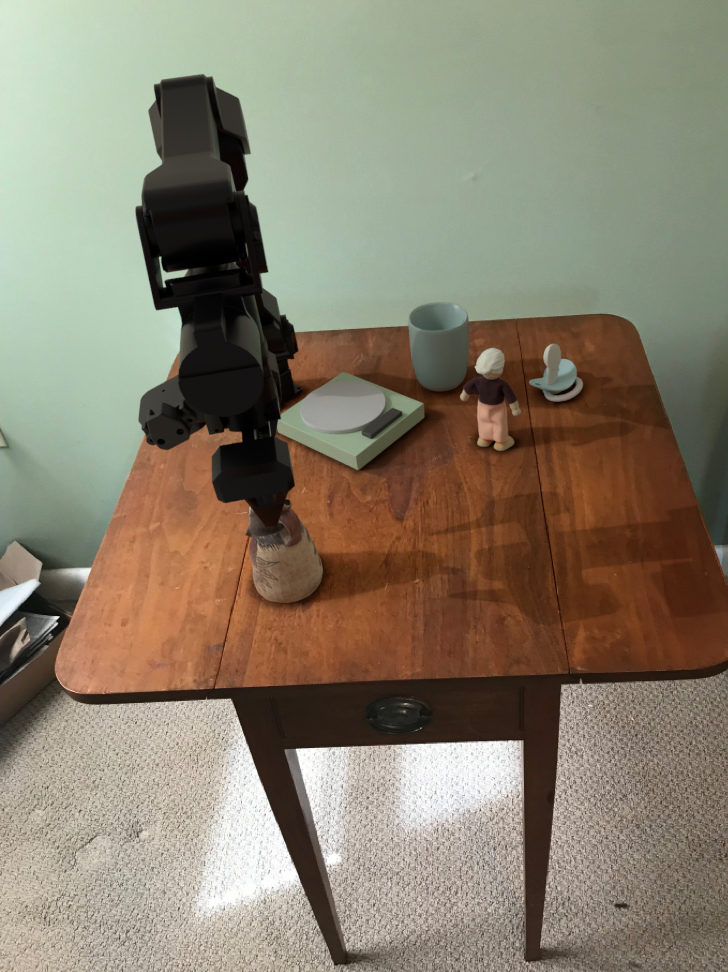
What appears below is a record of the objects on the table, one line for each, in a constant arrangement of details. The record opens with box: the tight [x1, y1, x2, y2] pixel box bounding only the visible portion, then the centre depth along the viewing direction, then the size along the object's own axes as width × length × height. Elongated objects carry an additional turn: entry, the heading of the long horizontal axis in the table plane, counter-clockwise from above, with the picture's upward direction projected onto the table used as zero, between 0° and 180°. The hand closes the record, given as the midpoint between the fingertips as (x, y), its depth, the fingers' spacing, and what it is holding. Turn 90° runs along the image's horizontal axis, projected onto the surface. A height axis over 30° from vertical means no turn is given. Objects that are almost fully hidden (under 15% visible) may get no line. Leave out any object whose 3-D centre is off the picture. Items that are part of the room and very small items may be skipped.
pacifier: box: [528, 343, 584, 403], centre depth 99 cm, size 7×6×6 cm
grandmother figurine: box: [459, 347, 522, 452], centre depth 90 cm, size 8×4×13 cm, turn 71°
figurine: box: [244, 497, 324, 604], centre depth 76 cm, size 7×7×12 cm
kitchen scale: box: [277, 371, 425, 471], centre depth 98 cm, size 14×13×3 cm
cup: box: [407, 301, 470, 393], centre depth 101 cm, size 8×8×10 cm
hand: (268, 493), depth 72 cm, fingers open, 9 cm apart
